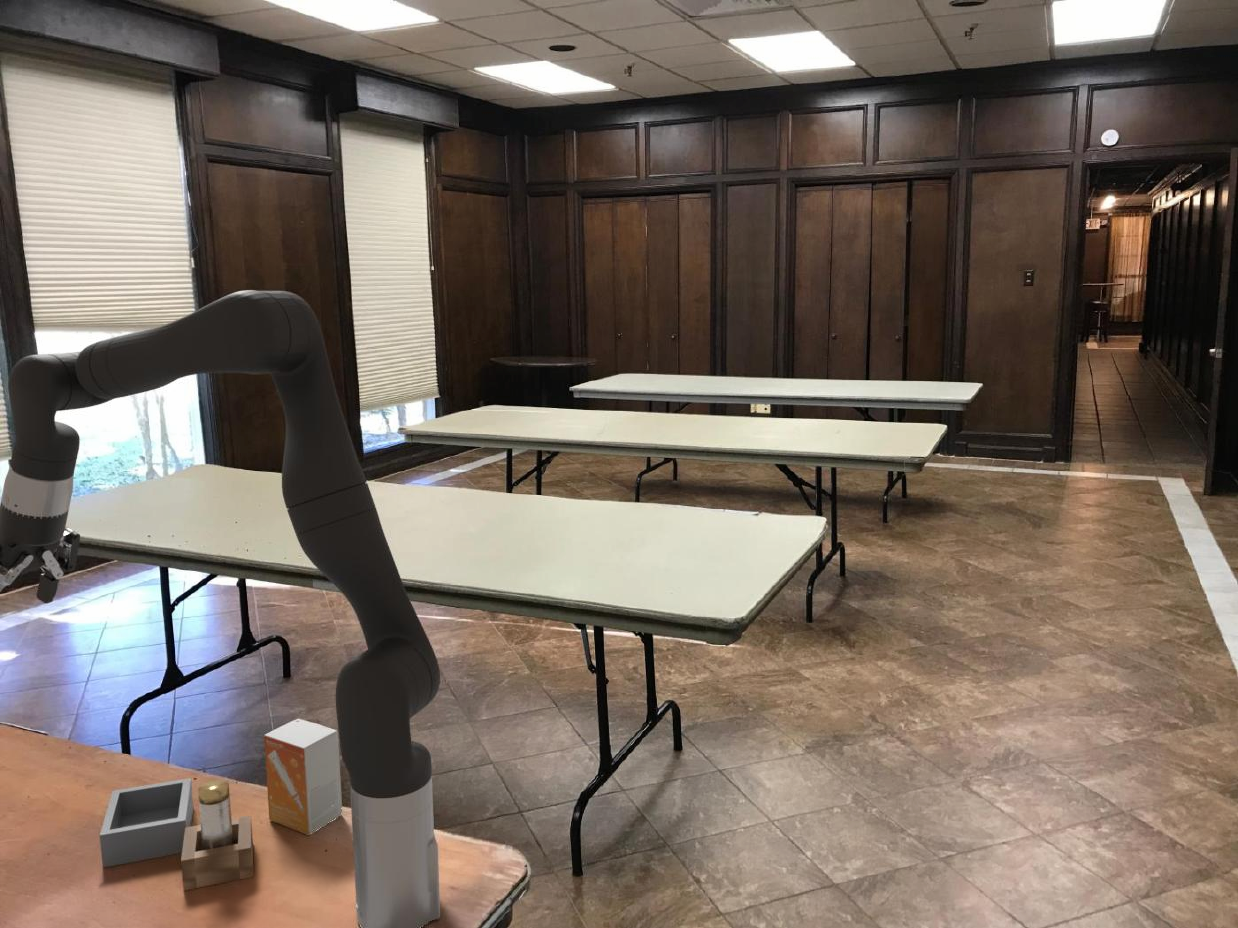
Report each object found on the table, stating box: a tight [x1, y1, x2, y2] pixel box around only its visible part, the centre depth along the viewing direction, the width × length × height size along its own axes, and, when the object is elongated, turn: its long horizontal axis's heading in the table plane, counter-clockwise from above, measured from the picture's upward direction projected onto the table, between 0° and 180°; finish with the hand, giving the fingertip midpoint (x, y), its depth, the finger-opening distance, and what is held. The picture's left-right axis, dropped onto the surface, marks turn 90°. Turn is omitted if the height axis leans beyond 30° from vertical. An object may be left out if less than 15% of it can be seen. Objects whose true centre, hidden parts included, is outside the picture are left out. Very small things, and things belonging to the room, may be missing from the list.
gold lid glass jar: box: [197, 779, 233, 850], centre depth 120 cm, size 4×4×11 cm
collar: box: [180, 815, 254, 891], centre depth 121 cm, size 8×8×4 cm
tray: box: [99, 777, 194, 869], centre depth 128 cm, size 10×12×4 cm
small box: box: [263, 718, 343, 836], centre depth 131 cm, size 8×6×13 cm
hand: (15, 609), depth 124 cm, fingers open, 8 cm apart
